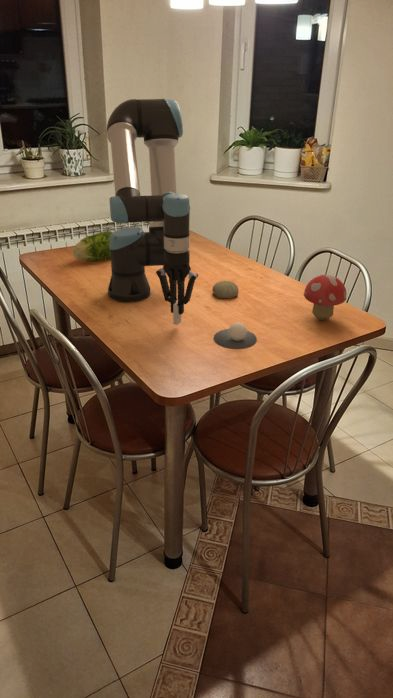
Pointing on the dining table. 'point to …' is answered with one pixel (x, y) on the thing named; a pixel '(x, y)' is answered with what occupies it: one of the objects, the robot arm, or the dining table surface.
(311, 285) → the decorative mushroom
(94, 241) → the lettuce
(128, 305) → the dining table surface
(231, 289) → the sea urchin shell
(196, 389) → the dining table surface
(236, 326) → the ball
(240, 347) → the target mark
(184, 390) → the dining table surface
